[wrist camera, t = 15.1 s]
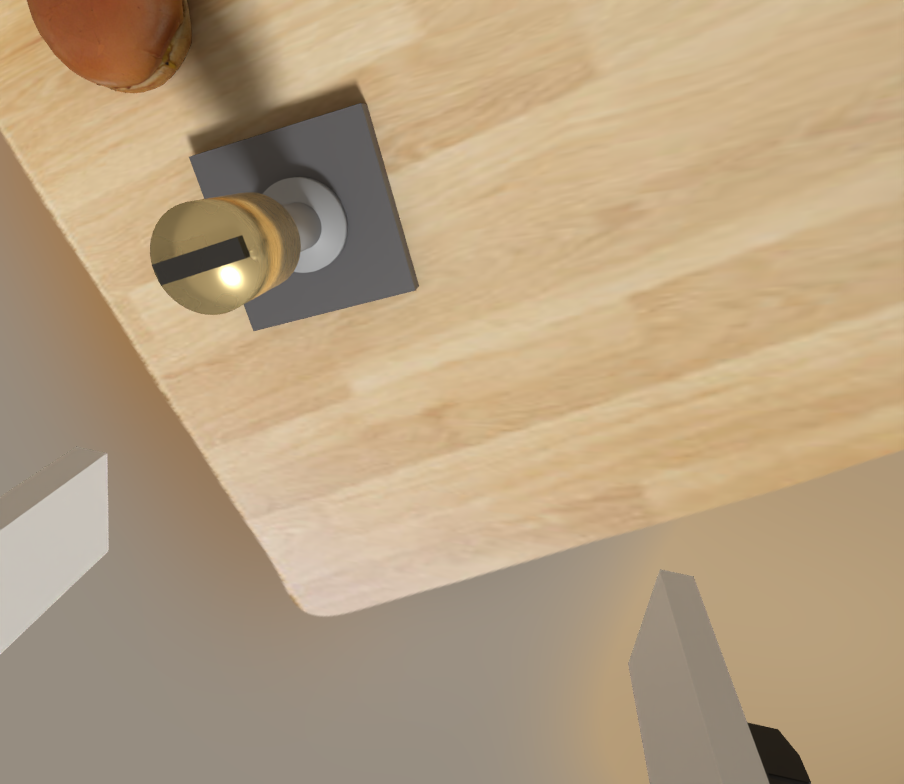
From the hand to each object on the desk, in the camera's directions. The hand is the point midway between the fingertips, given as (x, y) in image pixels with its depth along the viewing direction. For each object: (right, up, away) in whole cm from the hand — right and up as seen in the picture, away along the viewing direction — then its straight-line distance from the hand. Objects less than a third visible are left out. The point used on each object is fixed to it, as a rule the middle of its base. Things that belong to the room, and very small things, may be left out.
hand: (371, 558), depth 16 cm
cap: (-9, +12, +21) cm, 26 cm away
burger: (-19, +28, +27) cm, 44 cm away
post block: (-8, +15, +30) cm, 35 cm away
